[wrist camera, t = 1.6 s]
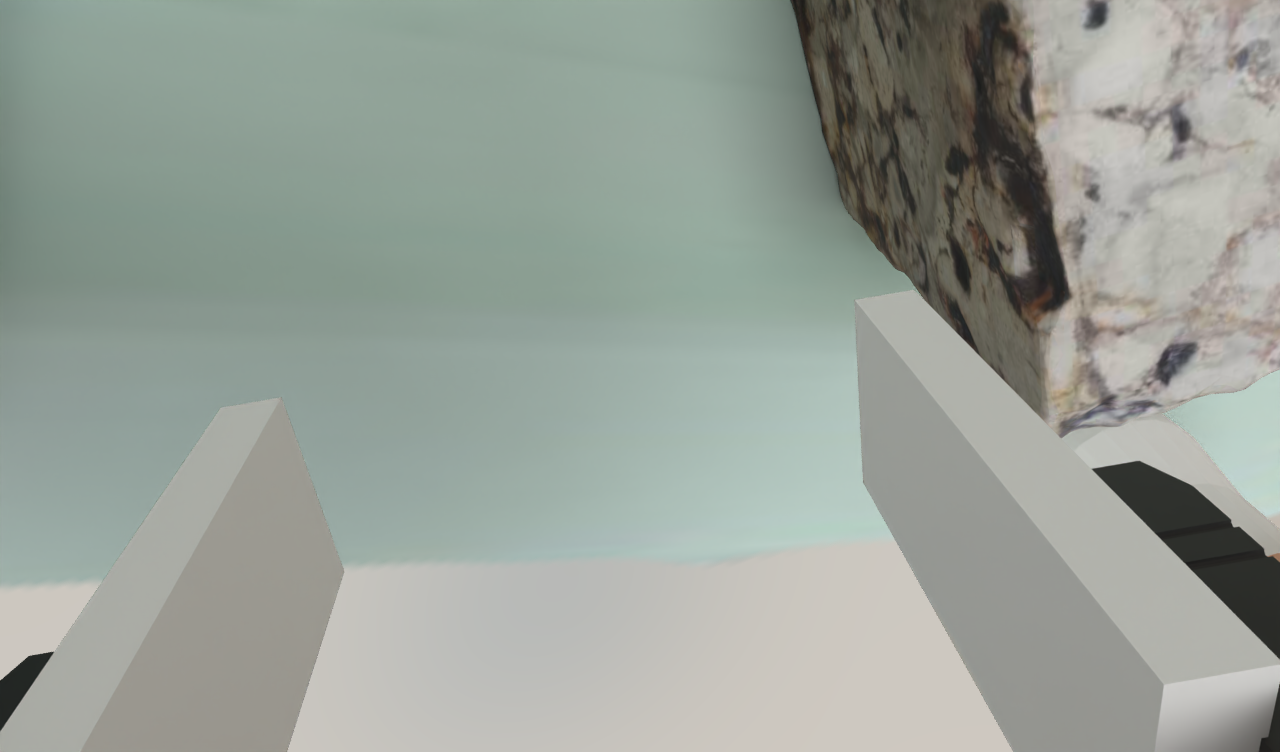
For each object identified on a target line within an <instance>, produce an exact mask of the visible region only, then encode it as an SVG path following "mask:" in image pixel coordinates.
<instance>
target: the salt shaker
mask: <svg viewBox="0 0 1280 752" xmlns="http://www.w3.org/2000/svg"><path fill="white" fill-rule="evenodd" d="M1061 439H1062V440H1063V441H1064V442H1065V443H1066V444H1067V445H1068V446H1069V447H1070V448H1071V449H1072V450H1073V451H1074V452H1075V453H1076V454H1077V455H1078V456H1079V457H1080V458H1081V459H1082V460H1083V461H1084V462H1085V463H1086V464H1087V465H1088V466H1089V467H1090V468H1091V469H1093V468H1099V467H1105V466H1111V465H1116V464H1122V463H1128V462H1134V461H1141V462H1143V463H1145V464H1148V465H1150V466H1152V467H1154V468H1156V469H1158V470H1160V471H1162V472H1165V473H1167V474H1169V475H1171V476H1173V477H1175V478H1177V479H1180V480H1182V481H1184V482H1186V483H1188V484H1190V485H1192V486H1194V487H1195V488H1196V489H1197V490H1198V491H1199V492H1200V493H1202V494H1203V495H1204V496H1205V497H1206V498H1207V499H1208V500H1209V501H1211V502H1212V503H1213V504H1214V505H1215V506H1216V507H1217V508H1219V509H1220V510H1221V511H1222V512H1223V513H1224V514H1225V515H1227V516H1228V517H1229V518H1230V519H1231V523H1232V525H1233V527H1240V528H1241V529H1243V530H1244V531H1245V532H1246V533H1247V534H1248V535H1249V536H1251V537H1252V538H1253V539H1254V540H1255V541H1256V542H1257V543H1258V544H1260V545H1261V546H1262V547H1263V548H1264V552H1265V555H1266V556H1267V557H1271V556H1273V557H1274V558H1276V559H1277V560H1278V561H1279V562H1280V529H1279V528H1278V527H1277V526H1276V525H1275V524H1273V523H1272V522H1271V521H1270V520H1269V519H1268V518H1266V517H1265V516H1264V515H1263V514H1262V513H1260V512H1259V511H1258V510H1257V509H1256V508H1255V507H1253V506H1252V505H1251V504H1250V503H1249V502H1247V501H1246V500H1245V499H1244V498H1243V497H1242V496H1241V494H1240V493H1239V492H1238V491H1237V489H1236V488H1235V487H1234V486H1233V485H1232V483H1231V482H1230V481H1229V480H1228V478H1227V477H1226V476H1225V475H1224V474H1223V472H1222V471H1221V470H1220V469H1219V468H1218V466H1217V465H1216V464H1215V463H1214V461H1213V460H1212V459H1211V458H1210V457H1209V455H1208V454H1207V453H1206V452H1205V450H1204V449H1203V448H1202V447H1201V446H1200V444H1199V443H1198V442H1197V441H1196V439H1195V438H1194V437H1193V436H1191V435H1190V434H1189V433H1187V432H1186V431H1185V430H1183V429H1182V428H1181V427H1179V426H1178V425H1177V424H1175V423H1174V422H1173V421H1171V420H1170V419H1169V418H1167V417H1166V416H1164V415H1163V414H1162V413H1161V414H1156V415H1151V416H1146V417H1141V418H1137V419H1135V420H1133V421H1131V422H1129V423H1127V424H1125V425H1123V426H1120V427H1091V428H1084V429H1079V430H1075V431H1072V432H1070V433H1068V434H1067V435H1065V436H1064V437H1063V438H1061Z"/></svg>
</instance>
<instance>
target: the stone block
mask: <svg viewBox="0 0 1280 752" xmlns="http://www.w3.org/2000/svg"><path fill="white" fill-rule="evenodd" d="M791 1H792V4H793V7H794V10H795V14H796V17H797V21H798V26H799V30H800V34H801V39H802V43H803V48H804V52H805V56H806V61H807V65H808V69H809V74H810V78H811V82H812V86H813V90H814V95H815V99H816V103H817V106H818V109H819V113H820V116H821V119H822V130H823V134H824V137H825V140H826V143H827V146H828V149H829V152H830V155H831V157H832V160H833V163H834V166H835V168H836V171H837V174H838V181H839V188H840V193H841V198H842V200H843V203H844V206H845V208H846V210H847V211H848V213H849V214H850V215H851V216H852V218H853V219H854V220H855V221H857V222H858V223H859V224H860V225H861V226H862V227H863V228H864V230H865V231H866V233H867V235H868V236H869V238H870V239H871V241H872V242H873V243H874V244H875V246H876V247H877V249H878V250H879V251H880V252H882V253H883V254H884V255H885V257H886V258H887V260H888V261H889V262H890V263H891V264H892V265H893V266H894V267H895V269H897V270H899V271H901V272H904V273H905V274H906V275H907V276H908V277H909V278H910V280H911V281H912V283H913V285H914V286H915V287H916V289H917V290H918V291H919V293H920V294H921V296H922V297H923V299H924V300H925V301H926V302H927V303H928V304H929V305H930V306H931V307H932V308H933V309H934V310H935V311H936V312H937V313H938V314H939V315H940V316H941V317H942V318H943V319H944V320H945V322H946V323H947V324H948V325H949V326H950V327H951V328H952V329H953V330H954V331H955V332H956V333H957V334H958V335H959V336H960V337H961V338H962V339H963V340H964V341H965V342H966V343H967V344H968V345H969V346H970V347H971V348H972V349H973V350H974V351H975V352H976V353H977V354H978V355H979V356H980V357H981V358H982V359H983V360H984V361H985V362H986V363H987V364H988V365H989V366H990V367H991V368H992V369H993V370H994V371H995V372H996V373H997V374H998V375H999V376H1000V377H1001V378H1002V379H1003V380H1004V381H1005V382H1006V383H1007V384H1008V385H1009V386H1010V387H1011V388H1012V389H1013V390H1014V391H1015V392H1016V393H1017V394H1018V395H1019V396H1020V397H1021V398H1022V399H1023V400H1024V401H1025V402H1026V403H1027V404H1028V405H1029V406H1030V407H1031V409H1032V410H1033V411H1034V412H1035V413H1036V414H1037V415H1038V416H1039V417H1040V418H1041V419H1042V420H1043V421H1044V422H1045V423H1046V424H1047V425H1048V426H1049V427H1050V428H1051V429H1052V430H1053V431H1054V432H1055V433H1056V434H1057V435H1058V436H1059V437H1060V438H1063V437H1064V436H1065V435H1067V434H1068V433H1070V432H1072V431H1075V430H1079V429H1084V428H1091V427H1120V426H1123V425H1125V424H1127V423H1129V422H1131V421H1133V420H1135V419H1137V418H1141V417H1146V416H1151V415H1156V414H1161V413H1165V412H1167V411H1169V410H1171V409H1174V408H1176V407H1178V406H1180V405H1182V404H1184V403H1186V402H1188V401H1190V400H1192V399H1194V398H1197V397H1201V396H1205V395H1209V394H1217V393H1233V392H1237V391H1241V390H1244V389H1246V388H1247V387H1249V386H1250V385H1252V384H1253V383H1255V382H1256V381H1257V380H1259V379H1260V378H1262V377H1264V376H1266V375H1268V374H1270V373H1272V372H1274V371H1277V370H1280V0H791Z"/></svg>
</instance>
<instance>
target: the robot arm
mask: <svg viewBox="0 0 1280 752" xmlns="http://www.w3.org/2000/svg"><path fill="white" fill-rule="evenodd" d="M854 302H855V323H856V344H857V366H858V387H859V408H860V429H861V451H862V472H863V483H864V485H865V487H866V488H867V490H868V492H869V494H870V496H871V497H872V499H873V501H874V503H875V505H876V506H877V508H878V510H879V512H880V513H881V515H882V517H883V519H884V521H885V522H886V524H887V526H888V528H889V530H890V531H891V533H892V535H893V537H894V539H895V540H896V542H897V544H898V546H899V548H900V549H901V551H902V553H903V555H904V557H905V558H906V560H907V562H908V563H909V565H910V567H911V569H912V571H913V573H914V574H915V576H916V578H917V580H918V582H919V583H920V585H921V587H922V589H923V591H924V592H925V594H926V596H927V598H928V600H929V601H930V603H931V605H932V607H933V609H934V610H935V612H936V614H937V616H938V617H939V619H940V621H941V623H942V625H943V626H944V628H945V630H946V632H947V634H948V635H949V637H950V639H951V640H952V642H953V644H954V646H955V648H956V650H957V651H958V653H959V655H960V657H961V659H962V660H963V662H964V664H965V665H966V668H967V670H968V671H969V673H970V675H971V677H972V678H973V680H974V682H975V684H976V686H977V687H978V689H979V691H980V693H981V695H982V696H983V698H984V700H985V702H986V704H987V705H988V707H989V709H990V711H991V713H992V714H993V716H994V718H995V720H996V722H997V723H998V725H999V727H1000V729H1001V730H1002V732H1003V734H1004V736H1005V738H1006V739H1007V741H1008V743H1009V745H1010V747H1011V748H1012V750H1013V752H1280V562H1279V561H1278V560H1277V559H1276V558H1274V557H1273V556H1271V557H1267V556H1266V555H1265V552H1264V548H1263V547H1262V546H1261V545H1260V544H1258V543H1257V542H1256V541H1255V540H1254V539H1253V538H1252V537H1251V536H1249V535H1248V534H1247V533H1246V532H1245V531H1244V530H1243V529H1241V528H1240V527H1233V525H1232V523H1231V519H1230V518H1229V517H1228V516H1227V515H1225V514H1224V513H1223V512H1222V511H1221V510H1220V509H1219V508H1217V507H1216V506H1215V505H1214V504H1213V503H1212V502H1211V501H1209V500H1208V499H1207V498H1206V497H1205V496H1204V495H1203V494H1202V493H1200V492H1199V491H1198V490H1197V489H1196V488H1195V487H1194V486H1192V485H1190V484H1188V483H1186V482H1184V481H1182V480H1180V479H1177V478H1175V477H1173V476H1171V475H1169V474H1167V473H1165V472H1162V471H1160V470H1158V469H1156V468H1154V467H1152V466H1150V465H1148V464H1145V463H1143V462H1141V461H1134V462H1128V463H1122V464H1116V465H1111V466H1105V467H1099V468H1093V469H1091V468H1090V467H1089V466H1088V465H1087V464H1086V463H1085V462H1084V461H1083V460H1082V459H1081V458H1080V457H1079V456H1078V455H1077V454H1076V453H1075V452H1074V451H1073V450H1072V449H1071V448H1070V447H1069V446H1068V445H1067V444H1066V443H1065V442H1064V441H1063V440H1062V439H1061V438H1060V437H1059V436H1058V435H1057V434H1056V433H1055V432H1054V431H1053V430H1052V429H1051V428H1050V427H1049V426H1048V425H1047V424H1046V423H1045V422H1044V421H1043V420H1042V419H1041V418H1040V417H1039V416H1038V415H1037V414H1036V413H1035V412H1034V411H1033V410H1032V409H1031V407H1030V406H1029V405H1028V404H1027V403H1026V402H1025V401H1024V400H1023V399H1022V398H1021V397H1020V396H1019V395H1018V394H1017V393H1016V392H1015V391H1014V390H1013V389H1012V388H1011V387H1010V386H1009V385H1008V384H1007V383H1006V382H1005V381H1004V380H1003V379H1002V378H1001V377H1000V376H999V375H998V374H997V373H996V372H995V371H994V370H993V369H992V368H991V367H990V366H989V365H988V364H987V363H986V362H985V361H984V360H983V359H982V358H981V357H980V356H979V355H978V354H977V353H976V352H975V351H974V350H973V349H972V348H971V347H970V346H969V345H968V344H967V343H966V342H965V341H964V340H963V339H962V338H961V337H960V336H959V335H958V334H957V333H956V332H955V331H954V330H953V329H952V328H951V327H950V326H949V325H948V324H947V323H946V322H945V320H944V319H943V318H942V317H941V316H940V315H939V314H938V313H937V312H936V311H935V310H934V309H933V308H932V307H931V306H930V305H929V304H928V303H927V302H926V301H925V300H924V299H923V298H922V297H921V296H920V295H919V294H918V293H917V292H916V291H915V290H909V291H903V292H897V293H891V294H886V295H880V296H874V297H868V298H862V299H856V300H854ZM343 574H344V569H343V567H342V564H341V561H340V558H339V555H338V553H337V550H336V547H335V544H334V542H333V539H332V536H331V533H330V531H329V528H328V525H327V522H326V519H325V517H324V514H323V511H322V508H321V506H320V503H319V500H318V497H317V494H316V492H315V489H314V486H313V483H312V481H311V478H310V475H309V472H308V470H307V467H306V464H305V461H304V458H303V456H302V453H301V450H300V447H299V445H298V442H297V439H296V436H295V434H294V431H293V428H292V425H291V422H290V420H289V417H288V414H287V411H286V409H285V406H284V403H283V400H282V398H281V397H280V398H274V399H268V400H262V401H256V402H250V403H244V404H238V405H232V406H227V407H221V408H220V409H219V411H218V412H217V414H216V415H215V417H214V418H213V420H212V421H211V423H210V424H209V425H208V427H207V428H206V430H205V431H204V433H203V434H202V436H201V437H200V439H199V440H198V442H197V443H196V445H195V446H194V448H193V449H192V450H191V452H190V453H189V455H188V456H187V458H186V459H185V461H184V462H183V464H182V465H181V467H180V468H179V470H178V471H177V473H176V474H175V475H174V477H173V478H172V480H171V481H170V483H169V484H168V486H167V487H166V489H165V490H164V492H163V493H162V495H161V496H160V498H159V499H158V500H157V502H156V503H155V505H154V506H153V508H152V509H151V511H150V512H149V514H148V515H147V517H146V518H145V520H144V521H143V523H142V524H141V525H140V527H139V528H138V530H137V531H136V533H135V534H134V536H133V537H132V539H131V540H130V542H129V543H128V545H127V546H126V548H125V549H124V550H123V552H122V553H121V555H120V556H119V558H118V559H117V561H116V562H115V564H114V565H113V567H112V568H111V570H110V571H109V573H108V574H107V575H106V577H105V578H104V580H103V581H102V583H101V584H100V586H99V587H98V589H97V590H96V592H95V593H94V595H93V596H92V598H91V599H90V600H89V602H88V603H87V605H86V606H85V608H84V609H83V611H82V612H81V614H80V615H79V617H78V618H77V620H76V621H75V623H74V624H73V625H72V627H71V628H70V630H69V631H68V633H67V634H66V636H65V637H64V639H63V640H62V642H61V643H60V645H59V646H58V648H57V649H56V650H55V652H49V653H43V654H38V655H32V656H28V657H27V658H26V659H25V660H24V661H23V662H21V663H20V664H19V665H18V666H17V667H16V668H14V669H13V670H12V671H11V672H10V673H9V674H8V675H6V676H5V677H4V678H3V679H2V680H0V752H287V750H288V747H289V744H290V741H291V738H292V734H293V731H294V728H295V725H296V722H297V718H298V716H299V712H300V709H301V706H302V703H303V700H304V697H305V693H306V690H307V687H308V684H309V681H310V677H311V675H312V671H313V668H314V665H315V662H316V659H317V656H318V652H319V649H320V646H321V643H322V640H323V637H324V634H325V630H326V627H327V624H328V621H329V618H330V614H331V611H332V609H333V605H334V602H335V599H336V596H337V593H338V590H339V587H340V583H341V580H342V577H343Z"/></svg>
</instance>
